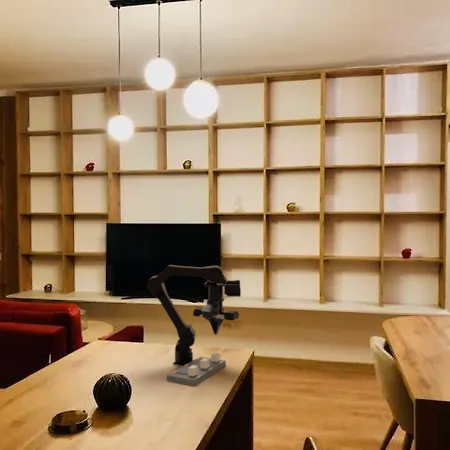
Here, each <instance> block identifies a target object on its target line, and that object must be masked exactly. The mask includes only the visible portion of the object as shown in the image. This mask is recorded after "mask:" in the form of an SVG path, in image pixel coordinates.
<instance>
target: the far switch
mask: <svg viewBox="0 0 450 450" xmlns="http://www.w3.org/2000/svg"><path fill="white" fill-rule="evenodd" d="M210 358H211V361H212V362H218V361H219V360H221V352H218V351H217V352H216V351H214V352H212V353H211V356H210Z"/></svg>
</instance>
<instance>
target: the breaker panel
mask: <svg viewBox="0 0 450 450" xmlns="http://www.w3.org/2000/svg"><path fill="white" fill-rule="evenodd" d="M204 358H206V359H209V367H208V368H207V369H203V368H200V360H202V359H204ZM226 363H227V362H226V360H223V359H220V360H219V361H218V362H212V361H211V357H204V356H198V357H197V358H195V359H193V361H191V362H189V363H188V364H186V365H184V366H180V367H179V368H177V369H176V370H174V371H171V372H170V373H168V374H166V381H167V382H171V383H177V384H183V385H187V386H193V387H196V386H197V385H198V384H200V383H201V382H202V381H204V380H206V379H208V378H209V377H211V376H212V375H214V374H215V373H216V372H217V373H218V371H219V370H221V369H222V368H224V367H226V365H227V364H226ZM192 365H195V366H198V374H197V375H195V376H189V375H188V367H190V366H192Z"/></svg>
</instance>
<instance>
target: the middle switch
mask: <svg viewBox="0 0 450 450" xmlns="http://www.w3.org/2000/svg"><path fill="white" fill-rule="evenodd" d="M206 358H207V357H206ZM206 358H204V359H202V360H200V368H203V369H207V368H208V367H209V359H206Z"/></svg>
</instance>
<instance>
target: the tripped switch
mask: <svg viewBox="0 0 450 450" xmlns="http://www.w3.org/2000/svg"><path fill="white" fill-rule="evenodd" d="M197 374H198V366H195V365H192V366H190V367H188V375H189V376H195V375H197Z"/></svg>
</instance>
